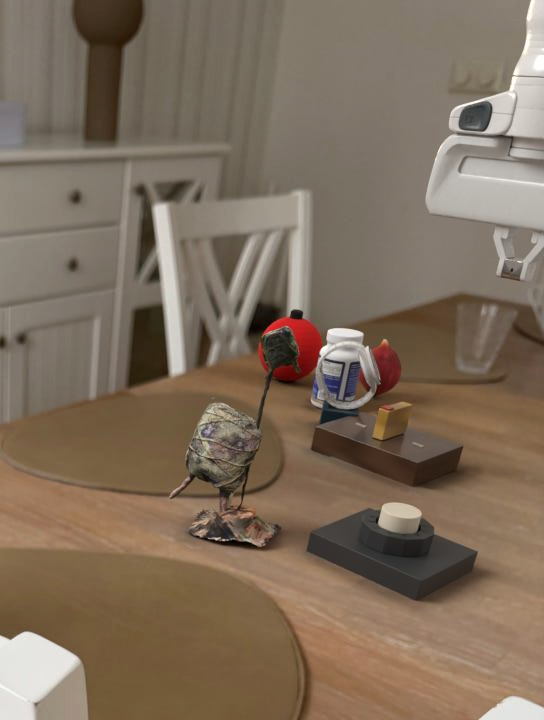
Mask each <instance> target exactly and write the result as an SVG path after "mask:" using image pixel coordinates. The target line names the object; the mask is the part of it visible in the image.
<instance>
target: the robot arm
mask: <svg viewBox="0 0 544 720" xmlns="http://www.w3.org/2000/svg"><path fill="white" fill-rule="evenodd" d="M525 25H526V28H525V29H526V32H525V33H526V34H525V41H524V42H525V43H524V47H523V49H522V52H521V55H520V57H519V59H518V61H517V63H516V65H515V67H514V70H513V72H512V76H511V81H510V85H509V89H508V90H507V91H503V92H501V93H497V94H493V95H490V96H486V97H483V98H480V99H475V100H473V101H469V102H466V103H462V104H460V105H457V106H455V107H454V108H453V109H452V111H451V112H450V115H449V120H448V129H449V130H450V131H451V132H453V134H451V135H449V136H447V138H446V139H444V141H443V142H442V144H441V145H440V147H439V149H438V151H437V153H436V156H435V159H434V162H433V165H432V169H431V171H430V176H429V180H428V184H427V188H426V192H425V199H424V200H425V201H424V202H425V206H426V208H427V211H428V213H429V215H431V216H436V217H443V218H450V219H455V220H462V221H469V222H476V223H481V224H489V225H495V228H494V233H493V236H492V239H493V241H494V247H495V249H496V252H497V256H498V258H499V261H498V265H497V269H496V272H495V275H496V277H497V278H501V279H507V280H511V281H512V280H513V281H518V282H523V283H529V282H531V281H532V280H533V278H534V275H535V272H536V269H537V265H538V262H540V261H541V259H542V258H543V257H544V0H530V1H529V5H528V9H527V13H526V20H525ZM520 229H524V230H529V231H533V232H532V236H531V239H530V243H531V244H535V246H534V247H532V249H531V251H530V252H529V253H528V254H527V255H526V256H525V257H524V258H521V257H517V256H516V255H515V254H516V253H515V248H514V243H513V239H514V238H517V237H518V236H519V232H520Z"/></svg>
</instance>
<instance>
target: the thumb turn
mask: <svg viewBox="0 0 544 720" xmlns="http://www.w3.org/2000/svg"><path fill="white" fill-rule="evenodd" d="M412 408H413V404H412V403H409V402H407V401H400V402H397V403H392V404H389V405H388V404H385V405H381V407H379V408H378V412H377V415H376V416H377V419H376V424H375V428H374V432H373V436H372V437H374V438H377V439H379V440H385V439H388V438H391V437H394V436H397V435H400V434H403V433H405V432H406V428H407V427H408V423H409V421H410V416H411V413H412Z"/></svg>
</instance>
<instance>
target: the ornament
mask: <svg viewBox="0 0 544 720" xmlns="http://www.w3.org/2000/svg"><path fill="white" fill-rule="evenodd" d="M303 316H304V311H303V310H302V309H297V308H294V309H291V311H290V314H289V316H285V317H281V318H278V319H277V320H275V321H274V322H272V323H271V324H270V325H269V326H268V327H267V328H266V329H265V330H264V332H263V333H262V336H263V335H264V334H267V333H268V332H270V331H274V330H277V329H280V328H282V327H284V326H288V327H289V328H291V330H292V332H293V334H294V337H295V340H296V343H297V345H298V347H299V348H298V350H299V357H298V359H297V363H298V365H299V368H300V370H301V372H300V373H297V372H296V371H295V369H294V367H292V366H291V365H289V366H288V367H286V366H280V367H279V368H277V369H275V370H274V372H273V377H272V378H274V379H275V380H279V381H282V382H294V381H298V380H302V379H304V378H305V377H307V376H308V375H310V374H311V373H312V372H313V371H314V370H315V369H316V368H317V364H318V358H319V353H320V350H321V349H322V348H323V340H322V337H321V333H320V332H319V330H318V328H317V327H316V325H314V324H313V323H312V322H311V321H309V319H306V318H304V317H303ZM262 336H261V337H262ZM258 358H259V362H260V364H261V366H262V368H263V369H264V371H265V372H266V373H268V370H269V366H266V365H265V362H264V357H263V355H262V347H261V343H260V342H259V344H258Z"/></svg>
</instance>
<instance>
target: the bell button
mask: <svg viewBox="0 0 544 720" xmlns="http://www.w3.org/2000/svg"><path fill="white" fill-rule="evenodd" d="M380 510H381V513H380V517H379V521H378V525H379V526H380V527H381V528H384V529H386V530H389V531H391V532H396V533H401V534H415V533H416V532H417V530H418V527H419V523H420V520H421V518H422V515H423V513H422V511H421V510H420V509H419V508H418V507H415V506H414V505H411V504H408V503H402V502H386V503H384V504H383V505H382V506H381V509H380Z"/></svg>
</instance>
